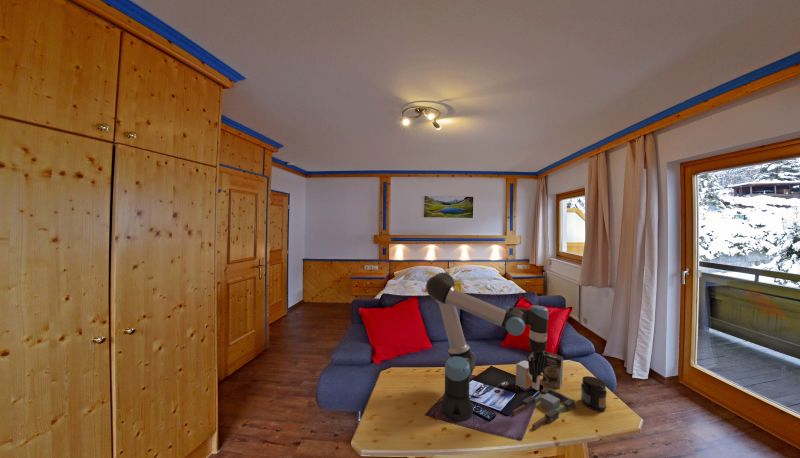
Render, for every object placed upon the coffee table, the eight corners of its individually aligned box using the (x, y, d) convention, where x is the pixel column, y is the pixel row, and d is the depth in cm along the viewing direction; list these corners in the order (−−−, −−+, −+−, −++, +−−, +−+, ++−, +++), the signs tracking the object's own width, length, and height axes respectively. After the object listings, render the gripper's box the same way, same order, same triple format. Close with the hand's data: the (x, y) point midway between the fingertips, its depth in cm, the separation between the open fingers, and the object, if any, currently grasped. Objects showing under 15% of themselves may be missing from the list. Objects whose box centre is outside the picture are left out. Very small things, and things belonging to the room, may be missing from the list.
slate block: (540, 405, 138) (541, 396, 138) (547, 401, 141) (547, 392, 141) (553, 412, 133) (553, 403, 133) (559, 408, 136) (559, 399, 136)
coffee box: (542, 382, 158) (542, 354, 157) (545, 378, 162) (545, 351, 162) (560, 389, 152) (561, 360, 151) (562, 384, 156) (563, 356, 156)
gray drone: (509, 413, 131) (509, 407, 131) (547, 392, 149) (547, 386, 148) (537, 432, 120) (537, 425, 119) (574, 406, 137) (574, 400, 137)
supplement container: (611, 409, 135) (612, 385, 135) (595, 413, 132) (596, 388, 132) (590, 396, 145) (591, 374, 145) (575, 400, 142) (576, 377, 142)
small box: (525, 392, 148) (526, 368, 148) (515, 386, 153) (515, 363, 153) (534, 387, 152) (535, 364, 152) (523, 382, 158) (524, 359, 158)
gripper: (537, 345, 124) (535, 397, 124) (553, 339, 131) (550, 388, 131) (522, 339, 130) (520, 388, 131) (538, 333, 137) (535, 380, 138)
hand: (535, 388), depth 131 cm, fingers closed
